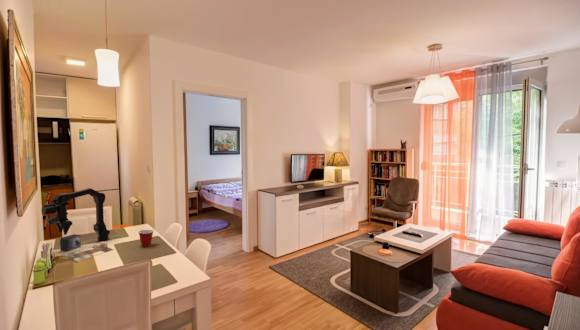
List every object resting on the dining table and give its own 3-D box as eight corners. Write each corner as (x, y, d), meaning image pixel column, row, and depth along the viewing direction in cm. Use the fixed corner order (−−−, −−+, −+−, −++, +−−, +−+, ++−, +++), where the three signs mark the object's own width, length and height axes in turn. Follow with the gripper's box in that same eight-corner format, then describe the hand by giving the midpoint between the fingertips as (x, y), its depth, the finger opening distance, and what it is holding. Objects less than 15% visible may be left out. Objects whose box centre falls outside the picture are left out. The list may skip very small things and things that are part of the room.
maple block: (103, 246, 207) (103, 241, 207) (107, 248, 204) (107, 242, 204) (94, 249, 202) (94, 243, 202) (98, 250, 199) (98, 245, 199)
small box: (67, 253, 197) (66, 239, 197) (60, 252, 199) (59, 238, 198) (81, 248, 208) (80, 234, 207) (74, 247, 209) (73, 233, 208)
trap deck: (99, 246, 212) (99, 243, 211) (114, 251, 202) (114, 248, 201) (63, 256, 192) (63, 252, 191) (77, 263, 182) (77, 259, 181)
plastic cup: (157, 245, 215) (157, 230, 214) (143, 249, 206) (143, 233, 205) (149, 242, 221) (148, 227, 220) (135, 246, 212) (135, 231, 211)
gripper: (42, 212, 195) (43, 234, 196) (51, 216, 184) (53, 239, 186) (62, 209, 204) (63, 230, 205) (72, 212, 194) (73, 234, 195)
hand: (62, 233), depth 198 cm, fingers open, 9 cm apart
